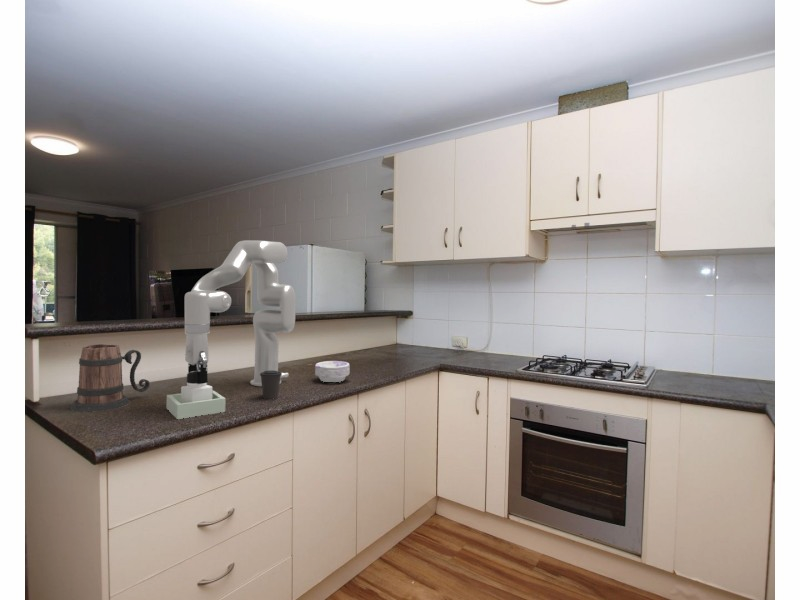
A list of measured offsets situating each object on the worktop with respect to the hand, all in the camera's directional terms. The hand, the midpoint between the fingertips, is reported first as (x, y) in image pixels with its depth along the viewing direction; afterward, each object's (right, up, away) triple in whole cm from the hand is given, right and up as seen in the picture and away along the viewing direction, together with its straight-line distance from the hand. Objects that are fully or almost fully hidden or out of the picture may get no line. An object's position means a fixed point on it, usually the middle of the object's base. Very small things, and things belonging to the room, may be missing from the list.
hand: (197, 380), depth 143 cm
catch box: (0, -10, 0) cm, 10 cm away
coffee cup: (+19, -10, +18) cm, 28 cm away
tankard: (-32, -9, +5) cm, 34 cm away
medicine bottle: (0, -9, 0) cm, 9 cm away
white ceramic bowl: (+37, -10, +49) cm, 62 cm away
